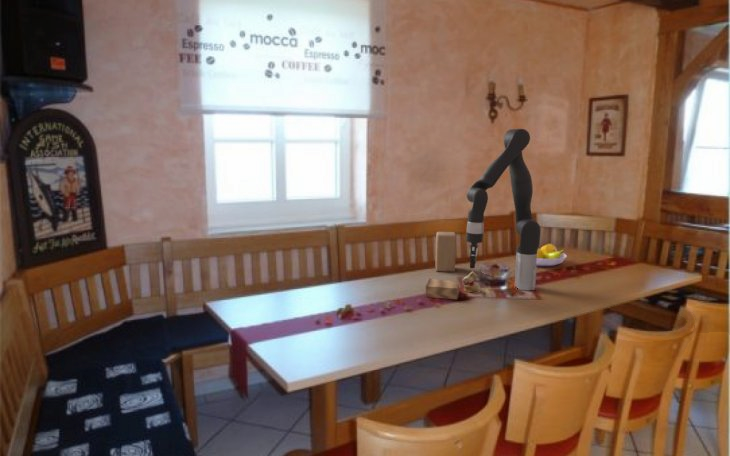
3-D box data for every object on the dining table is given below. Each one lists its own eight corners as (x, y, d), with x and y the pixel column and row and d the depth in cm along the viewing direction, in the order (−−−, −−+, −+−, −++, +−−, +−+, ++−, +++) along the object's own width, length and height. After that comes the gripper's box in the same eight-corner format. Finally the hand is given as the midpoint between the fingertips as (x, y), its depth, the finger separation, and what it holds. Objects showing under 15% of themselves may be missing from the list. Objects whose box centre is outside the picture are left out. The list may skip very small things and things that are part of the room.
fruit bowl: (509, 258, 308) (510, 239, 306) (553, 257, 311) (554, 239, 309) (529, 271, 281) (530, 250, 279) (577, 269, 284) (578, 249, 282)
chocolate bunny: (466, 288, 249) (467, 268, 247) (482, 291, 244) (483, 270, 243) (461, 291, 244) (462, 270, 243) (477, 294, 240) (478, 273, 238)
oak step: (458, 291, 244) (459, 280, 243) (457, 299, 232) (457, 287, 231) (428, 289, 247) (429, 278, 246) (425, 296, 236) (425, 285, 235)
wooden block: (453, 267, 287) (455, 231, 283) (454, 272, 277) (456, 235, 274) (435, 266, 288) (436, 231, 284) (435, 271, 278) (437, 234, 274)
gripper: (482, 234, 232) (480, 270, 235) (483, 229, 245) (481, 263, 248) (465, 233, 233) (463, 269, 236) (467, 228, 247) (465, 261, 250)
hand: (472, 265), depth 242 cm, fingers open, 8 cm apart
